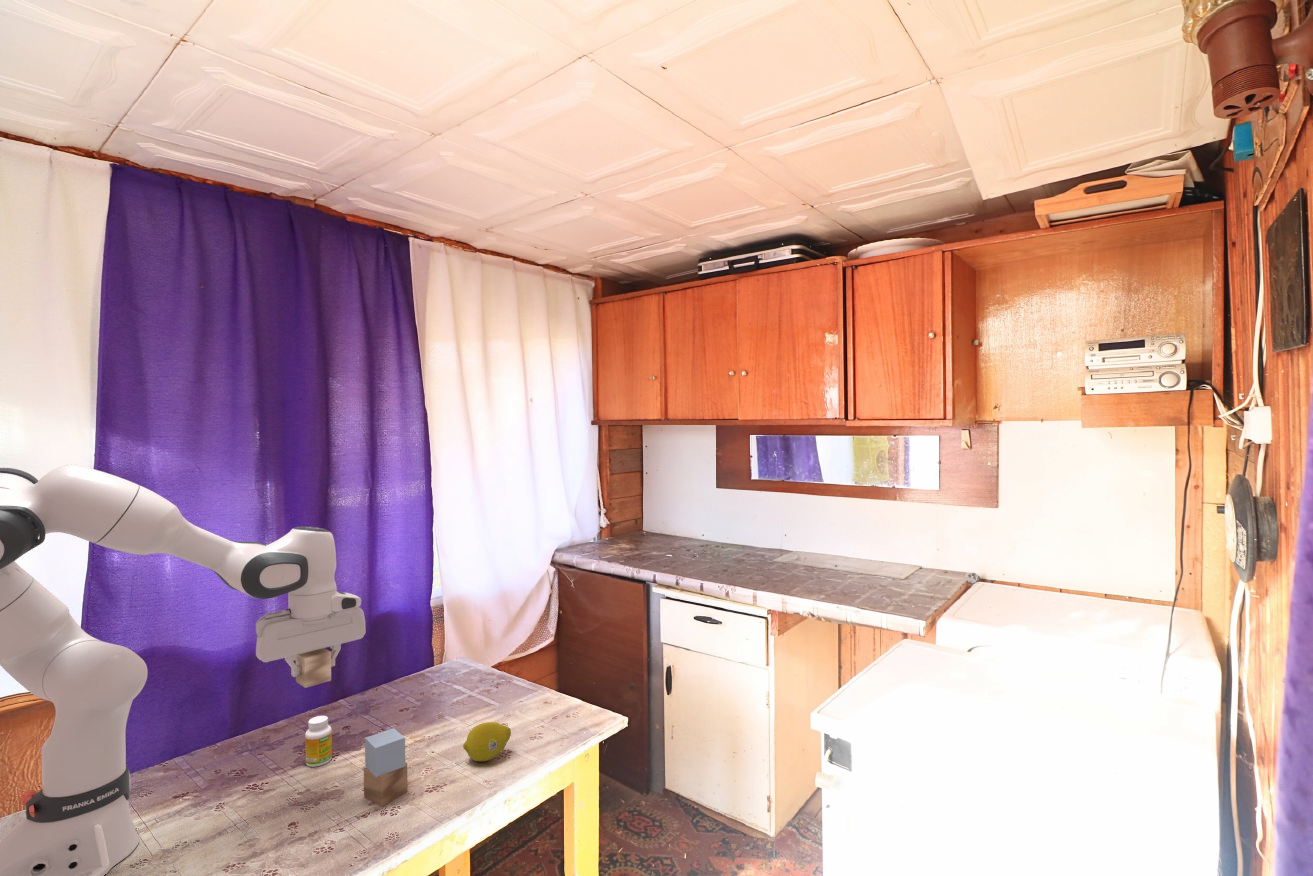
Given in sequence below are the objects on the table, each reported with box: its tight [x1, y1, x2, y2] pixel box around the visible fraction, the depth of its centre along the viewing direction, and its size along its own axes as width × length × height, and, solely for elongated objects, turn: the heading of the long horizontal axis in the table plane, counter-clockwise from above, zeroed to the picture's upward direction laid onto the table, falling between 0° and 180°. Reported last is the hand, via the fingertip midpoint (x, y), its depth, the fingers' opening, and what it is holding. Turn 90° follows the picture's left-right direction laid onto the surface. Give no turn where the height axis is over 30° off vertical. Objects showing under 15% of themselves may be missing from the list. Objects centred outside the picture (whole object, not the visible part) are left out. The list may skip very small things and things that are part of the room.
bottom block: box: [363, 762, 409, 807], centre depth 130 cm, size 6×6×6 cm
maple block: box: [295, 648, 332, 689], centre depth 128 cm, size 5×5×6 cm
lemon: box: [462, 721, 512, 763], centre depth 144 cm, size 11×8×8 cm
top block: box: [364, 727, 407, 777], centre depth 130 cm, size 6×6×6 cm
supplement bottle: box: [304, 715, 333, 768], centre depth 143 cm, size 5×5×10 cm
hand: (313, 670), depth 128 cm, fingers closed on maple block, 5 cm apart
